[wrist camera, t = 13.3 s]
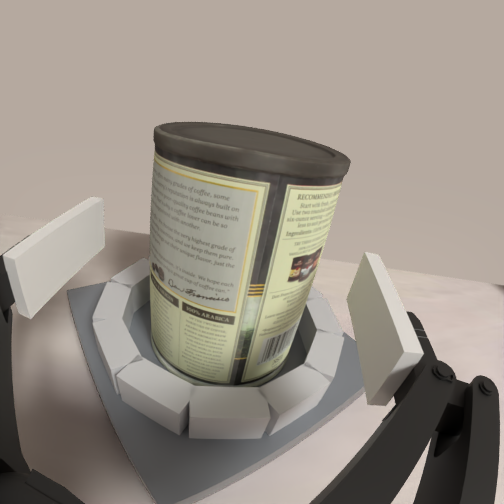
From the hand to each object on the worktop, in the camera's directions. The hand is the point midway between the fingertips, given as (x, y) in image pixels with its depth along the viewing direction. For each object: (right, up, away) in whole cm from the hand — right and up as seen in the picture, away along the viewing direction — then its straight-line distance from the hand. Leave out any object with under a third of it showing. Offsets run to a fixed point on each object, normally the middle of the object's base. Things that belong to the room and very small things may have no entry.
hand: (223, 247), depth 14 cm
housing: (-1, -8, +8) cm, 12 cm away
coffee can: (-1, -6, +7) cm, 10 cm away
